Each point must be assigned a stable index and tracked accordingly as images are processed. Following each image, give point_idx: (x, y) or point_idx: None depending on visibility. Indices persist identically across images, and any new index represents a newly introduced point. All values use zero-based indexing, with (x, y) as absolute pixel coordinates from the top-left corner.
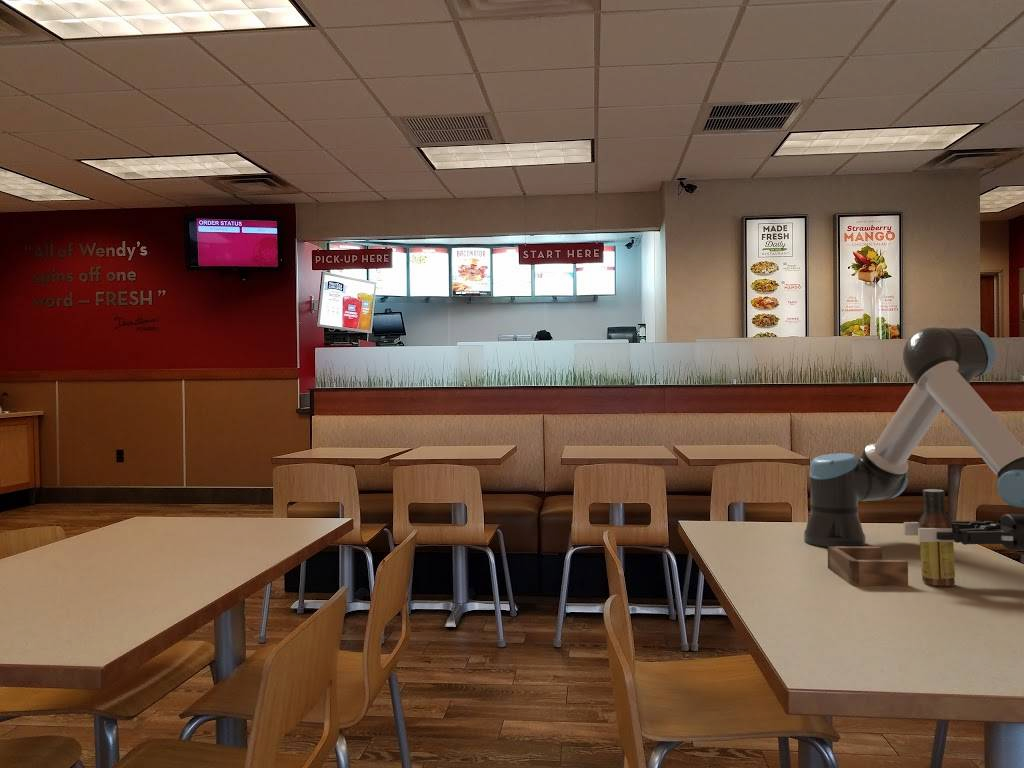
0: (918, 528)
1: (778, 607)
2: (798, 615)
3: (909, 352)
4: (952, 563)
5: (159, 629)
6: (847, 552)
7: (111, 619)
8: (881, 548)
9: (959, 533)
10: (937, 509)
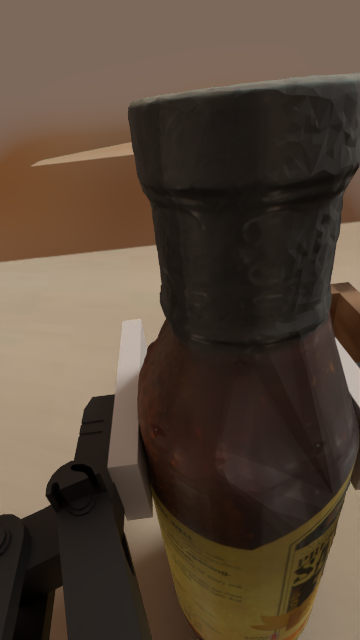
0: (134, 320)
1: (51, 277)
2: (10, 289)
3: None
4: (185, 595)
5: (72, 161)
6: (351, 319)
7: (89, 155)
8: None
9: (50, 518)
10: (162, 290)
